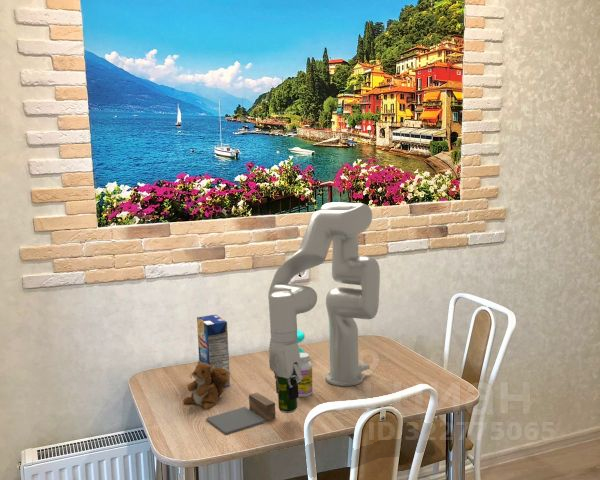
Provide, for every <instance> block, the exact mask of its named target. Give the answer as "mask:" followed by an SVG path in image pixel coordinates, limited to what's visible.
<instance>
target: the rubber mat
mask: <svg viewBox="0 0 600 480" xmlns="http://www.w3.org/2000/svg"><path fill="white" fill-rule="evenodd" d="M205 420H206V421H207V422H208V423H210V424H211V425H212V426H213V427H214V428H216V429H217V430H219V432H221V433H223V434H224V435H229V434H232V433H235V432H239V431H242V430H245V429H248V428H251V427H255V426H258V425H261V424H264V423H266V422H267V420H266V419H264V418H263V417H261V416H260V415H258V414H257V413H255V412H254V411H252V410H250V408H249V407H247V406H243V407H239V408H236V409H232V410H228V411H227V412H221V413H219V414H215V415H212V416H208V417H206V419H205Z"/></svg>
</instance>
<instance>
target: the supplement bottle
mask: <svg viewBox="0 0 600 480" xmlns="http://www.w3.org/2000/svg"><path fill="white" fill-rule="evenodd" d="M309 359H310V355H309V353H307V352H305V353H300V362H301V375H302V377H303V379H302V380H301V381H300V383H299V385H298V396H299V397H298V398H301V397H302V398H305V397H309V396H311V395H312V394H313V365H312V362H311V361H309Z"/></svg>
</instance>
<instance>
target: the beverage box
mask: <svg viewBox="0 0 600 480" xmlns="http://www.w3.org/2000/svg"><path fill="white" fill-rule="evenodd" d="M196 326H197V327H196V328H197V342H198V343H197V347H198V361H200V362H203V363H206V364H209V365H210V366H212V365H214V368H213V369H215V368H222V369H226V370H227V372H229V373H230V357H229V335H228V321H226V320H225V319H223V318H222V317H220V316H219V315H218V314H209V315H205V316H197V317H196ZM230 375H231V374H229V378H230ZM230 386H231V379H229V381H227V383H226V384H225V386H224V388H226V387H230Z"/></svg>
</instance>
